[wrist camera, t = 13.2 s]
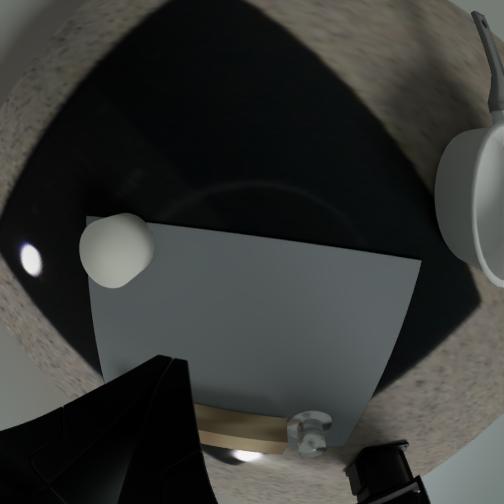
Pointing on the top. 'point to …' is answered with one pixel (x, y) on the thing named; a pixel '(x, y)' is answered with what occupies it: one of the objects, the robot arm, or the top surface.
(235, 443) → the wooden block
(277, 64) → the top surface
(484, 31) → the saucepan
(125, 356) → the mat
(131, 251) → the door stop
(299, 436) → the hinge pin
